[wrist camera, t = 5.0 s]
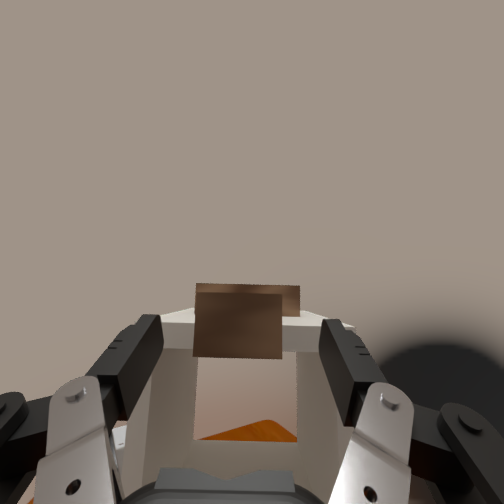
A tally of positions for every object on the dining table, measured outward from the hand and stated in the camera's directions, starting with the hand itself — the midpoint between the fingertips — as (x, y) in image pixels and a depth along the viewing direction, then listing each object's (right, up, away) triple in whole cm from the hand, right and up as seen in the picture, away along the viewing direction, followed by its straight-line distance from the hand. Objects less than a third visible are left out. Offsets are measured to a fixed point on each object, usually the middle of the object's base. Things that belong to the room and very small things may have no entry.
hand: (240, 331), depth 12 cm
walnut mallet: (0, -3, +11) cm, 11 cm away
